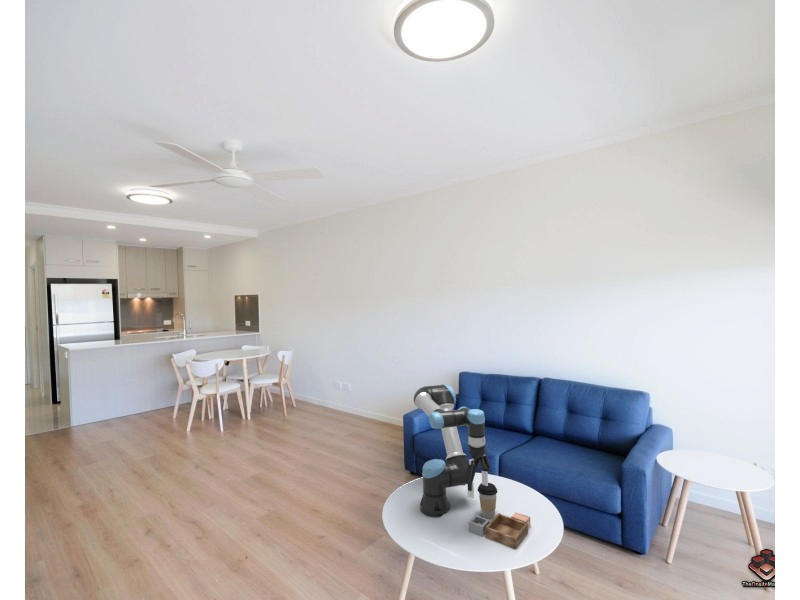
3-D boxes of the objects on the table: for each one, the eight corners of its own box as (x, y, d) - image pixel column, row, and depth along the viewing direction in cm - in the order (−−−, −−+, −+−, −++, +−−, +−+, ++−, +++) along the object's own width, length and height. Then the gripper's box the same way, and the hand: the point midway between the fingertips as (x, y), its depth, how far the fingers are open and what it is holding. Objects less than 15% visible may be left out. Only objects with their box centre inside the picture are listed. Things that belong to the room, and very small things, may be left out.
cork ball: (474, 530, 176) (474, 523, 176) (477, 527, 178) (477, 520, 178) (480, 532, 174) (480, 526, 174) (483, 529, 176) (483, 523, 176)
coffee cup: (498, 523, 182) (497, 492, 181) (478, 521, 183) (477, 490, 183) (497, 512, 191) (496, 482, 191) (478, 510, 193) (477, 481, 193)
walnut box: (485, 538, 171) (485, 527, 171) (499, 523, 181) (498, 513, 181) (515, 551, 162) (515, 539, 162) (528, 534, 173) (527, 523, 173)
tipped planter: (511, 527, 178) (511, 517, 178) (515, 522, 182) (515, 512, 182) (526, 533, 174) (526, 522, 174) (530, 527, 177) (530, 517, 177)
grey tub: (468, 532, 175) (468, 521, 175) (476, 525, 181) (475, 514, 181) (482, 538, 171) (482, 527, 171) (489, 530, 176) (489, 519, 176)
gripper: (470, 455, 163) (472, 505, 164) (496, 438, 183) (497, 482, 183) (455, 451, 168) (457, 500, 168) (482, 434, 187) (483, 478, 188)
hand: (478, 491), depth 176 cm, fingers open, 13 cm apart
